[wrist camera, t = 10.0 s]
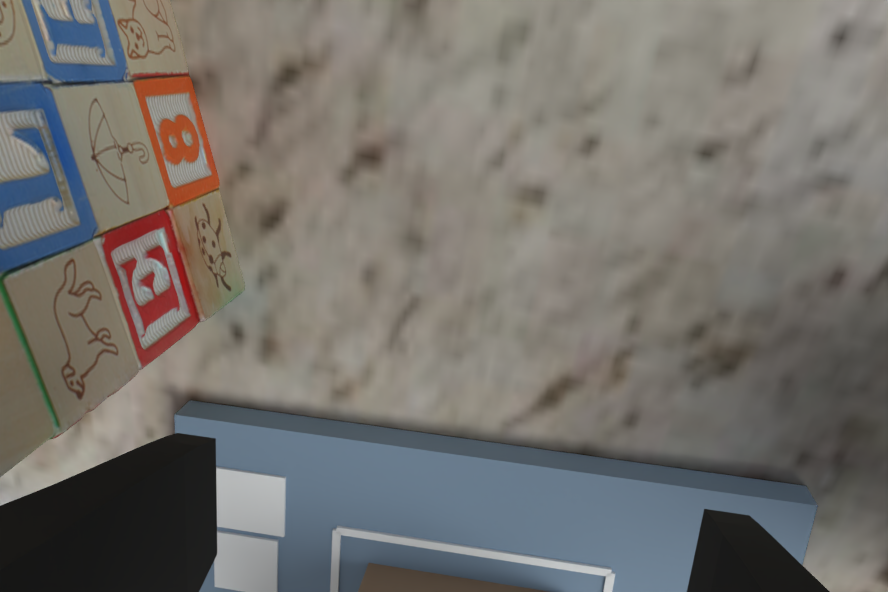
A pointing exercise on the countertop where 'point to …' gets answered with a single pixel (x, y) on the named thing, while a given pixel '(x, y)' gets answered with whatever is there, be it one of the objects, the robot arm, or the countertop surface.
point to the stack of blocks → (98, 208)
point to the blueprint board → (456, 511)
